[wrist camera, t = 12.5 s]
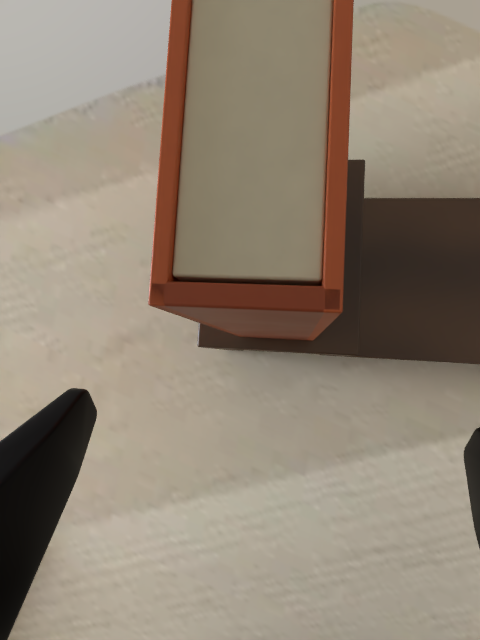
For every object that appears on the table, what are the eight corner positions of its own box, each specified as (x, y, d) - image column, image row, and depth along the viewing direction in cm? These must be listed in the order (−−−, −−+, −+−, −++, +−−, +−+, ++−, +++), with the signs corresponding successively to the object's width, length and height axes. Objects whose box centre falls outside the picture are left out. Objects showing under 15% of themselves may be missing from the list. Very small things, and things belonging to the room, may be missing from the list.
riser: (567, 369, 20) (685, 374, 14) (223, 349, 22) (196, 346, 16) (566, 213, 20) (676, 154, 14) (231, 211, 23) (209, 161, 17)
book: (313, 340, 16) (342, 313, 6) (239, 336, 16) (147, 305, 6) (320, 171, 16) (357, -118, 6) (248, 171, 17) (178, -98, 7)
